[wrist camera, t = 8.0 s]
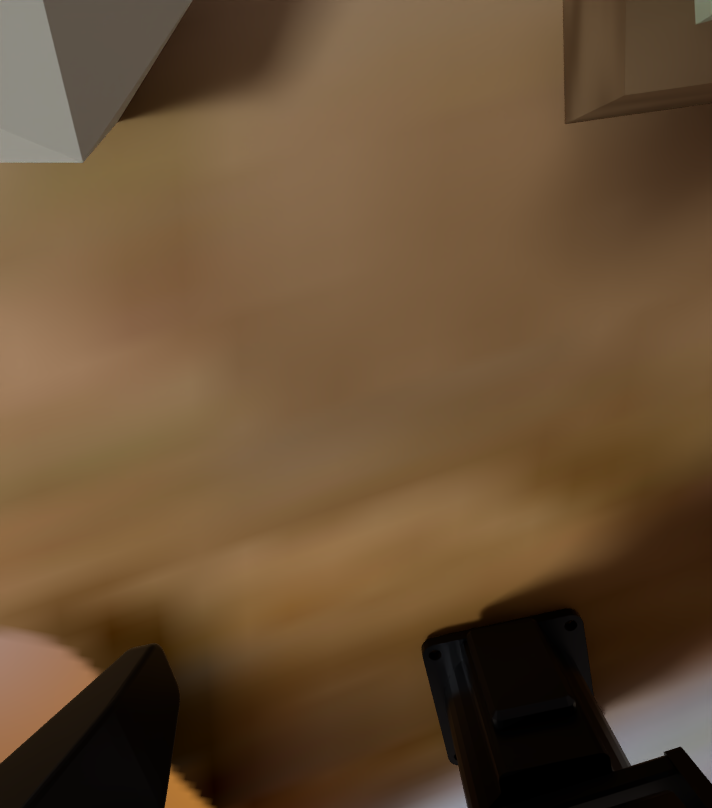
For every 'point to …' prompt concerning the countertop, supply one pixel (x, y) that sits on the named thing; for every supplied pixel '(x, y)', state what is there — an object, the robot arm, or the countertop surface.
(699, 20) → the sage block
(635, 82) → the walnut base
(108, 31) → the die
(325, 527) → the countertop surface
